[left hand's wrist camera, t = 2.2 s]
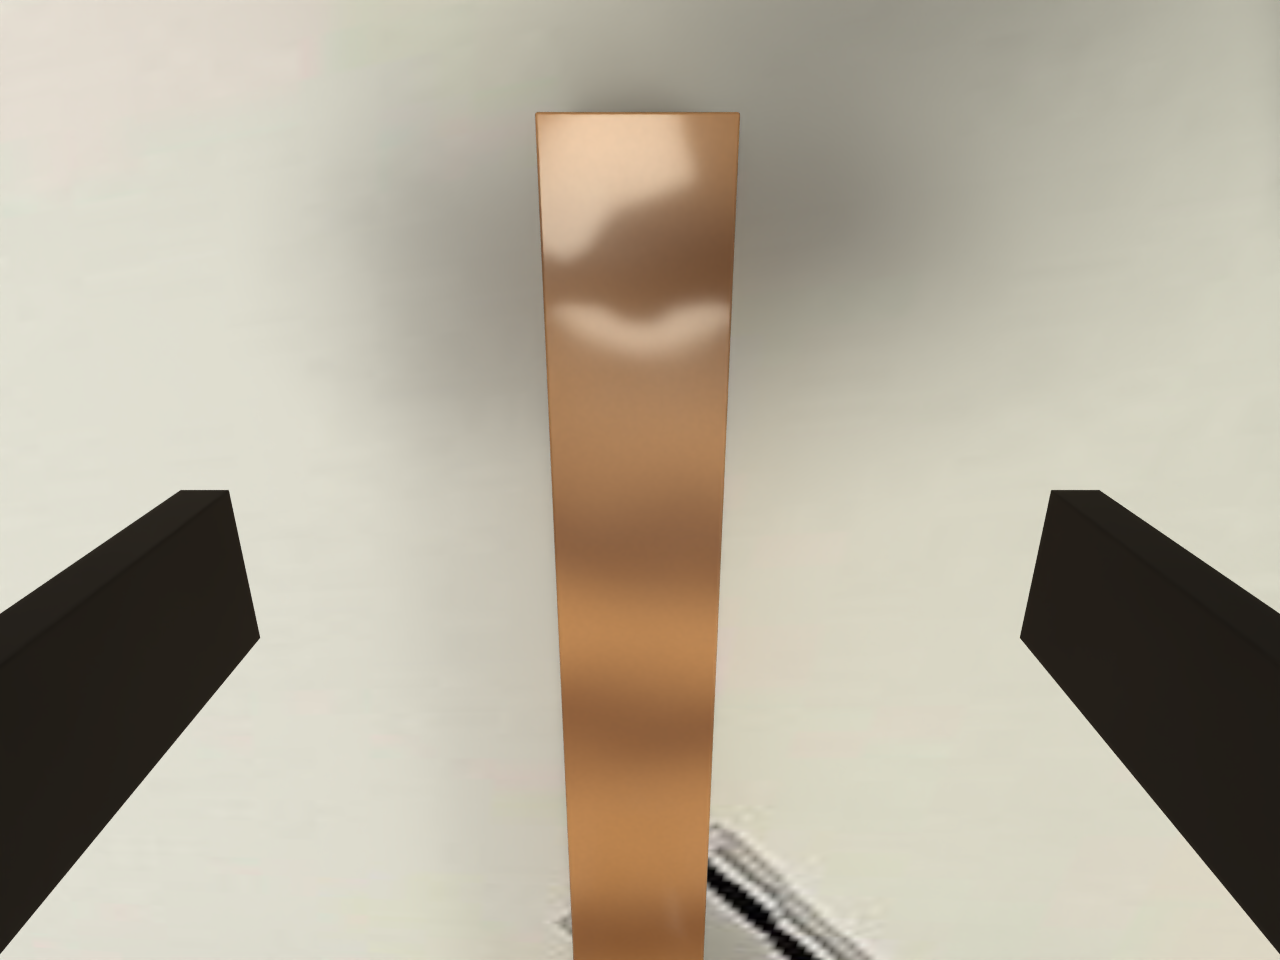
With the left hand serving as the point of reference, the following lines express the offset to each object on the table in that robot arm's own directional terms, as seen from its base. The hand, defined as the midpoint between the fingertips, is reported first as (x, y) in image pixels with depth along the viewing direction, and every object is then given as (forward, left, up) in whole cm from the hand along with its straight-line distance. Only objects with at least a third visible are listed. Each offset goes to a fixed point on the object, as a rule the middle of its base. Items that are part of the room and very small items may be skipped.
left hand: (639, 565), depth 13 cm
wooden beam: (+16, +18, -21) cm, 32 cm away
